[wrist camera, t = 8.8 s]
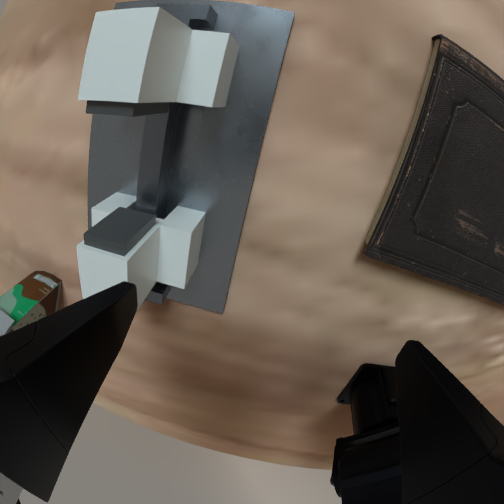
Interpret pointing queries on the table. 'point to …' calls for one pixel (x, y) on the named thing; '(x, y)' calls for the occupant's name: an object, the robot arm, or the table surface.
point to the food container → (29, 301)
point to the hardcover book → (449, 180)
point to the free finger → (138, 247)
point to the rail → (197, 145)
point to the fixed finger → (153, 64)
